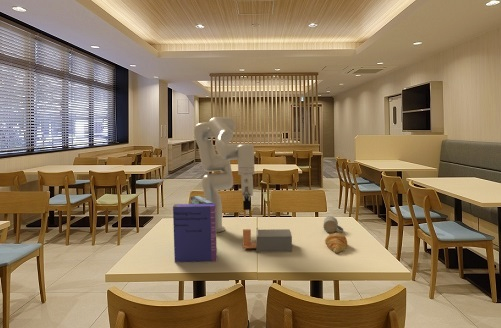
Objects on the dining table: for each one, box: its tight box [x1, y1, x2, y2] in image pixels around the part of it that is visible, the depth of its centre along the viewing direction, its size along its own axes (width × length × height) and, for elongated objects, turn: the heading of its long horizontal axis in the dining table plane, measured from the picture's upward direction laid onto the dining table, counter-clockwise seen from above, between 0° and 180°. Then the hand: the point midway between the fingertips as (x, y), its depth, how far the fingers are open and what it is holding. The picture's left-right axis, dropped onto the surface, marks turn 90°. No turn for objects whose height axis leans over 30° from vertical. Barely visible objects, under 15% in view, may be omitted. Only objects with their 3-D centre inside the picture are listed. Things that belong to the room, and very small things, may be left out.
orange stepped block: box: [242, 228, 257, 249], centre depth 173 cm, size 16×8×8 cm, turn 89°
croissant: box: [324, 232, 348, 254], centre depth 172 cm, size 21×10×8 cm, turn 168°
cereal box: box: [172, 203, 218, 263], centre depth 157 cm, size 17×5×24 cm, turn 91°
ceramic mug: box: [322, 215, 344, 234], centre depth 199 cm, size 11×8×8 cm
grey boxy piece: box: [256, 227, 293, 253], centre depth 173 cm, size 16×12×8 cm
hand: (247, 207), depth 171 cm, fingers open, 9 cm apart
